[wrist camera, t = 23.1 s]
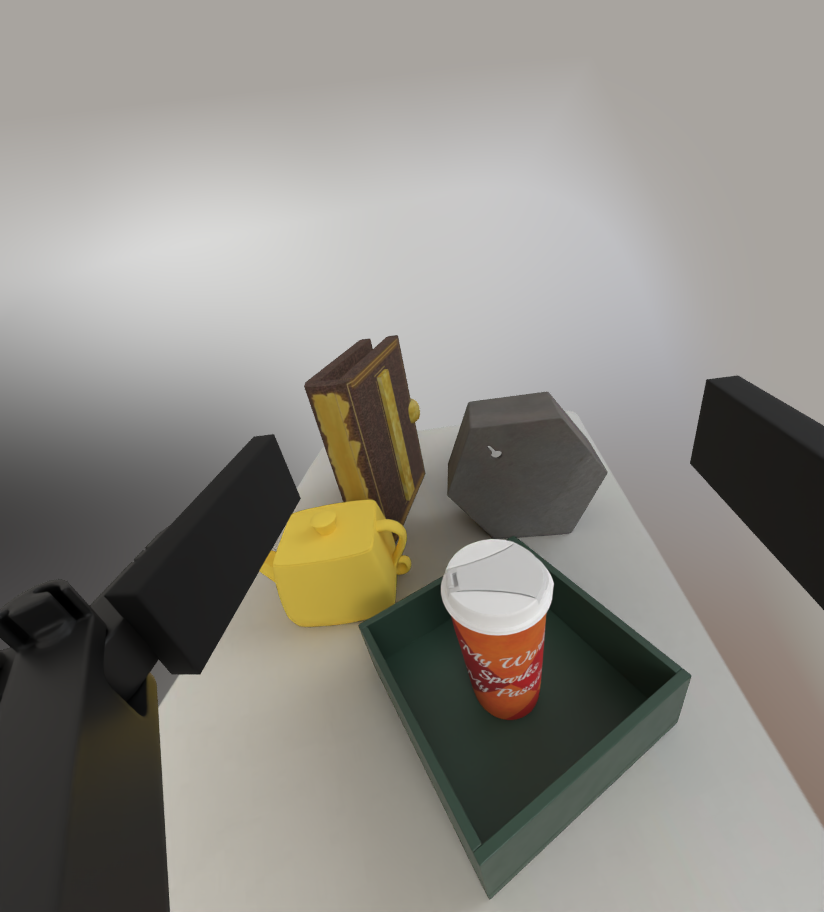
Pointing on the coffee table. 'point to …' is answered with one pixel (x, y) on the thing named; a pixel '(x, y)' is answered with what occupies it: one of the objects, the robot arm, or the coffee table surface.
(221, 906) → the coffee table surface
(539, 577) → the coffee cup
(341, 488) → the book
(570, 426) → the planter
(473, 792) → the bin
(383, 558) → the teapot
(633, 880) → the coffee table surface
